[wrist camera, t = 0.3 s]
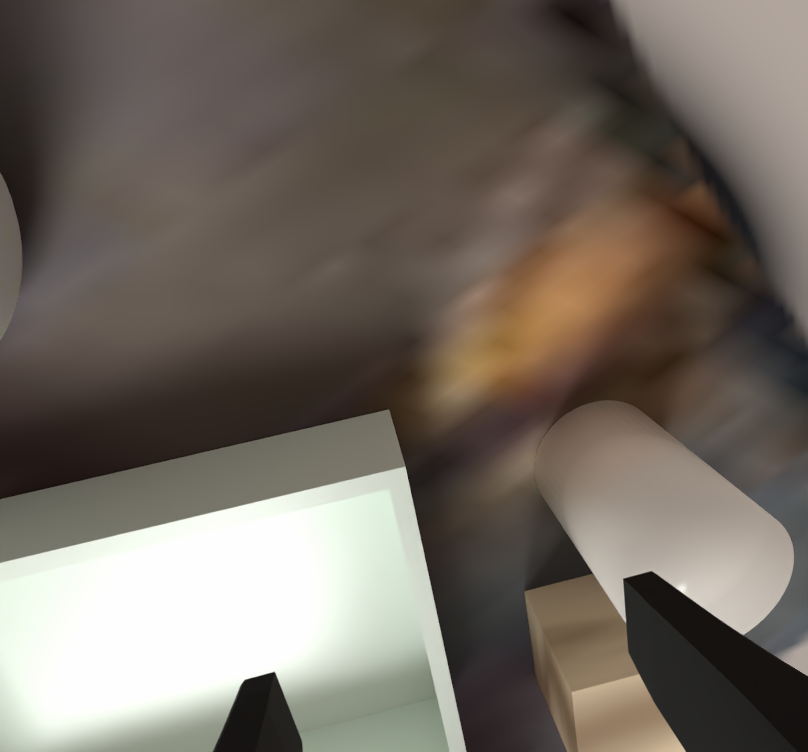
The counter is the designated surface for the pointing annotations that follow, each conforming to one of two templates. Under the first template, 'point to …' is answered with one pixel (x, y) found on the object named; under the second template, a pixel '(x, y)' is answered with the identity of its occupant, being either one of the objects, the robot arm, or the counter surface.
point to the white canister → (660, 514)
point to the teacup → (8, 258)
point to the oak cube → (591, 672)
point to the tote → (225, 601)
